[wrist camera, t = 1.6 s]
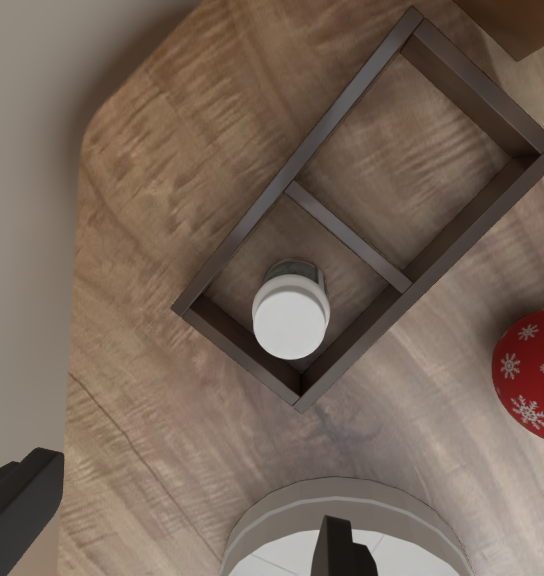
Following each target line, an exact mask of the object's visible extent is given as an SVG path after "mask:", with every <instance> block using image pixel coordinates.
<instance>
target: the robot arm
mask: <svg viewBox="0 0 544 576" xmlns="http://www.w3.org/2000/svg"><path fill="white" fill-rule="evenodd" d="M63 478H64V454H63V453H61V452H57V451H53V450H48V449H44V448H40V447H38V448H35V449H34V450H33V451H32V452H31V453H29V454H28V456H26V457H25V458H24V459H23V460H22V461H21V462H20V463H18V462H14V461H12V462H10V463H8V464H7V465H5V466H3V467H1V468H0V576H7V575H8V574H9V572H10V571H11V570H12V568H13V567H14V566H15V565H16V563H17V562H18V561H19V559H20V558H21V557H22V556H23V554H24V553H25V552H26V550H27V549H28V548H29V547H30V545H31V544H32V543H33V541H34V540H35V539H36V538H37V536H38V535H39V534H40V533H41V531H42V530H43V528H44V527H45V526H46V525H47V523H48V522H49V521H50V520H51V518H52V517H53V516H54V514H55V513H56V511H57V509H58V507H59V505H60V502H61V499H62V494H63ZM310 576H378V571H377V564H376V562H375V560H374V558H373V557H372V555H371V553H370V551H369V549H368V547H367V546H366V545H363V544H359V543H354V542H353V537H352V528H351V522H350V521H349V520H346V519H341V518H337V517H333V516H328V515H324V518H323V521H322V524H321V528H320V532H319V535H318V539H317V543H316V547H315V550H314V554H313V559H312V565H311V575H310Z"/></svg>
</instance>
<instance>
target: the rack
mask: <svg viewBox="0 0 544 576" xmlns="http://www.w3.org/2000/svg"><path fill="white" fill-rule="evenodd" d="M399 52H400V53H401V54H402V55H403V56H404V57H405V58H406V59H407V60H408V61H409V62H411V63H412V64H413V65H414V66H415V67H416V68H417V69H418V70H419V71H420V72H421V73H422V74H423V75H424V76H426V77H427V78H428V79H429V80H430V81H431V82H432V83H433V84H434V85H435V86H436V87H437V88H438V89H440V90H441V91H442V92H443V93H444V94H445V95H446V96H447V97H448V98H449V99H450V100H451V101H452V102H454V103H455V104H456V105H457V106H458V107H459V108H460V109H461V110H462V111H463V112H464V113H465V114H466V115H468V116H469V117H470V118H471V119H472V120H473V121H474V122H475V123H476V124H477V125H478V126H479V127H480V128H482V129H483V130H484V131H485V132H486V133H487V134H488V135H489V136H490V137H491V138H492V139H493V140H494V141H495V142H497V143H498V144H499V145H500V146H501V147H502V148H503V149H504V150H505V151H506V152H507V153H508V154H509V155H511V156H512V157H514V158H513V159H512V160H511V161H510V162H509V163H508V164H507V165H506V166H505V167H504V168H503V169H502V170H501V171H500V172H499V173H498V174H497V175H496V176H495V177H494V178H493V179H492V180H491V181H490V182H489V183H488V184H487V185H486V186H485V187H484V188H483V189H482V190H481V191H480V193H479V194H478V195H477V196H476V197H475V198H474V199H473V200H472V201H471V202H470V203H469V204H468V205H467V206H466V207H465V208H464V209H463V210H462V211H461V212H460V213H459V214H458V215H457V216H456V217H455V218H454V219H453V220H452V221H451V222H450V223H449V224H448V225H447V226H446V227H445V228H444V230H443V231H442V232H441V233H440V234H439V235H438V236H437V237H436V238H435V239H434V240H433V241H432V242H431V243H430V244H429V245H428V246H427V247H426V248H425V249H424V250H423V251H422V252H421V253H420V254H419V255H418V256H417V257H416V258H415V259H414V260H413V261H412V262H411V263H410V264H409V266H408V267H407V268H406V269H405V270H404V271H402V270H400V269H399V268H398V267H397V266H396V265H395V264H393V263H392V262H391V261H390V260H389V259H388V258H387V257H385V256H384V255H383V254H382V253H381V252H380V251H378V250H377V249H376V248H375V247H374V246H373V245H372V244H370V243H369V242H368V241H367V240H366V239H365V238H364V237H362V236H361V235H360V234H359V233H358V232H357V231H355V230H354V229H353V228H352V227H351V226H350V225H349V224H347V223H346V222H345V221H344V220H343V219H342V218H340V217H339V216H338V215H337V214H336V213H335V212H334V211H332V210H331V209H330V208H329V207H328V206H327V205H325V204H324V203H323V202H322V201H321V200H320V199H319V198H317V197H316V196H315V195H314V194H313V193H312V192H310V191H309V190H308V189H307V188H306V187H305V186H304V185H302V184H301V183H300V182H299V181H298V180H296V179H297V178H298V176H299V175H300V174H301V173H302V171H303V170H304V169H305V168H306V167H307V165H308V164H309V163H310V162H311V160H312V159H313V158H314V157H315V156H316V154H317V153H318V152H319V151H320V149H321V148H322V147H323V146H324V144H325V143H326V142H327V141H328V140H329V138H330V137H331V136H332V135H333V133H334V132H335V131H336V130H337V128H338V127H339V126H340V125H341V124H342V122H343V121H344V120H345V119H346V117H347V116H348V115H349V114H350V113H351V111H352V110H353V109H354V108H355V106H356V105H357V104H358V103H359V101H360V100H361V99H362V98H363V97H364V95H365V94H366V93H367V92H368V90H369V89H370V88H371V87H372V86H373V84H374V83H375V82H376V81H377V79H378V78H379V77H380V76H381V74H382V73H383V72H384V71H385V70H386V68H387V67H388V66H389V65H390V63H391V62H392V61H393V60H394V58H395V57H396V56H397V55H398V54H399ZM543 176H544V129H543V128H542V127H541V126H540V125H539V124H538V123H537V122H536V121H534V120H533V119H532V118H531V117H530V116H529V115H528V114H527V113H526V112H525V111H524V110H523V109H522V108H521V107H520V106H519V105H518V104H517V103H515V102H514V101H513V100H512V99H511V98H510V97H509V96H508V95H507V94H506V93H505V92H504V91H503V90H502V89H501V88H500V87H499V86H498V85H496V84H495V83H494V82H493V81H492V80H491V79H490V78H489V77H488V76H487V75H486V74H485V73H484V72H483V71H482V70H481V69H480V68H478V67H477V66H476V65H475V64H474V63H473V62H472V61H471V60H470V59H469V58H468V57H467V56H466V55H465V54H464V53H463V52H462V51H461V50H459V49H458V48H457V47H456V46H455V45H454V44H453V43H452V42H451V41H450V40H449V39H448V38H447V37H446V36H445V35H444V34H443V33H442V32H440V31H439V30H438V29H437V28H436V27H435V26H434V25H433V24H432V23H431V22H430V21H429V20H428V19H427V18H424V16H423V15H422V14H421V13H420V12H419V11H418V10H417V9H416V8H415V7H414V6H413V5H411V6H410V7H409V8H408V9H407V11H406V12H405V13H404V14H403V16H402V17H401V18H400V19H399V21H398V22H397V23H396V25H395V26H394V27H393V28H392V30H391V31H390V32H389V33H388V35H387V36H386V37H385V38H384V40H383V41H382V42H381V43H380V45H379V46H378V47H377V48H376V50H375V51H374V52H373V53H372V55H371V56H370V57H369V58H368V60H367V61H366V62H365V63H364V65H363V66H362V67H361V69H360V70H359V71H358V72H357V74H356V75H355V76H354V77H353V79H352V80H351V81H350V82H349V84H348V85H347V86H346V87H345V89H344V90H343V91H342V92H341V94H340V95H339V96H338V97H337V99H336V100H335V101H334V102H333V104H332V105H331V106H330V108H329V109H328V110H327V111H326V113H325V114H324V115H323V116H322V118H321V119H320V120H319V121H318V123H317V124H316V125H315V126H314V128H313V129H312V130H311V131H310V133H309V134H308V135H307V136H306V138H305V139H304V140H303V141H302V143H301V144H300V145H299V146H298V148H297V149H296V150H295V152H294V153H293V154H292V155H291V157H290V158H289V159H288V160H287V162H286V163H285V164H284V165H283V167H282V168H281V169H280V170H279V172H278V173H277V174H276V175H275V177H274V178H273V179H272V180H271V182H270V183H269V184H268V185H267V187H266V188H265V189H264V191H263V192H262V193H261V194H260V196H259V197H258V198H257V199H256V201H255V202H254V203H253V204H252V206H251V207H250V208H249V209H248V211H247V212H246V213H245V214H244V216H243V217H242V218H241V219H240V221H239V222H238V223H237V224H236V226H235V227H234V228H233V229H232V231H231V232H230V233H229V235H228V236H227V237H226V238H225V240H224V241H223V242H222V243H221V245H220V246H219V247H218V248H217V250H216V251H215V252H214V253H213V255H212V256H211V257H210V258H209V260H208V261H207V262H206V263H205V265H204V266H203V267H202V268H201V270H200V271H199V272H198V273H197V275H196V276H195V277H194V279H193V280H192V281H191V282H190V284H189V285H188V286H187V287H186V289H185V290H184V291H183V292H182V294H181V295H180V296H179V297H178V299H177V300H176V301H175V302H174V304H173V305H172V306H171V308H170V309H171V310H173V311H174V312H175V313H176V314H178V315H179V316H180V317H182V319H184V320H185V321H186V322H187V323H189V324H190V325H191V326H192V327H194V328H195V329H196V330H197V331H199V332H200V333H201V334H202V335H204V336H205V337H206V338H207V339H208V340H210V341H211V342H212V343H213V344H215V345H216V346H217V347H218V348H220V349H221V350H222V351H223V352H225V353H226V354H227V355H228V356H230V357H231V358H232V359H233V360H235V361H236V362H237V363H238V364H240V365H241V366H242V367H243V368H245V369H246V370H247V371H248V372H250V373H251V374H252V375H253V376H255V377H256V378H257V379H258V380H260V381H261V382H262V383H263V384H265V385H266V386H267V387H268V388H270V389H271V390H272V391H273V392H275V393H276V394H277V395H278V396H279V397H281V398H282V399H283V400H284V401H286V402H287V403H288V404H289V405H291V406H292V407H293V408H294V409H296V410H297V411H298V412H299V413H301V414H303V413H304V412H305V411H306V410H307V409H308V408H309V407H310V406H311V405H312V404H313V403H314V402H315V401H316V400H317V399H318V398H319V397H320V396H321V395H322V394H323V393H324V392H326V391H327V390H328V389H329V388H330V387H331V386H332V385H333V384H334V383H335V382H336V381H337V380H338V379H339V378H340V377H341V376H342V375H343V374H344V373H345V372H346V371H347V370H348V369H349V368H350V367H351V366H352V365H353V364H354V363H355V362H356V361H357V360H358V359H359V358H360V357H361V356H362V355H363V354H364V353H365V352H366V351H367V350H368V349H369V348H370V347H371V346H372V345H373V344H374V343H375V342H376V341H377V340H378V339H379V338H380V337H381V336H382V335H383V334H384V333H385V332H386V331H387V330H388V329H389V328H390V327H391V326H392V325H393V324H394V323H395V322H396V321H397V320H398V319H399V318H400V317H401V316H402V315H403V314H404V313H405V312H406V311H407V310H408V309H409V308H410V307H411V306H412V305H413V304H415V303H416V302H417V301H418V300H419V299H420V298H421V297H422V296H423V295H424V294H425V293H426V292H427V291H428V290H429V289H430V288H431V287H432V286H433V285H434V284H435V283H436V282H437V281H438V280H439V279H440V278H441V277H442V276H443V275H444V274H445V273H446V272H447V271H448V270H449V269H450V268H451V267H452V266H453V265H454V264H455V263H456V262H457V261H458V260H459V259H460V258H461V257H462V256H463V255H464V254H465V253H466V252H467V251H468V250H469V249H470V248H471V247H472V246H473V245H474V244H475V243H476V242H477V241H478V240H479V239H480V238H481V237H482V236H483V235H484V234H485V233H486V232H487V231H488V230H489V229H490V228H491V227H492V226H493V225H494V224H495V223H496V222H497V221H498V220H499V219H500V218H501V217H502V216H503V215H505V214H506V213H507V212H508V211H509V210H510V209H511V208H512V207H513V206H514V205H515V204H516V203H517V202H518V201H519V200H520V199H521V198H522V197H523V196H524V195H525V194H526V193H527V192H528V191H529V190H530V189H531V188H532V187H533V186H534V185H535V184H536V183H537V182H538V181H539V180H540V179H541V178H542V177H543ZM284 194H287V195H288V196H289V197H290V198H291V199H292V200H294V201H295V202H296V203H297V204H298V205H299V206H301V207H302V208H303V209H304V210H305V211H306V212H308V213H309V214H310V215H311V216H312V217H313V218H314V219H316V220H317V221H318V222H319V223H320V224H321V225H323V226H324V227H325V228H326V229H327V230H328V231H330V232H331V233H332V234H333V235H334V236H335V237H337V238H338V239H339V240H340V241H341V242H342V243H344V244H345V245H346V246H347V247H348V248H349V249H350V250H352V251H353V252H354V253H355V254H356V255H357V256H359V257H360V258H361V259H362V260H363V261H364V262H366V263H367V264H368V265H369V266H370V267H371V268H373V269H374V270H375V271H376V272H377V273H378V274H380V275H381V276H382V277H383V278H384V279H385V280H387V281H388V282H389V283H390V285H389V286H388V287H387V288H386V289H385V290H384V291H383V292H382V293H381V294H380V295H379V296H378V297H377V298H376V299H375V300H374V301H373V303H372V304H371V305H370V306H369V307H368V308H367V309H366V310H365V311H364V312H363V313H362V314H361V315H360V316H359V317H358V318H357V319H356V320H355V321H354V322H353V323H352V324H351V325H350V326H349V327H348V328H347V329H346V330H345V331H344V332H343V333H342V334H341V335H340V336H339V337H338V338H337V340H336V341H335V342H334V343H333V344H332V345H331V346H330V347H329V348H328V349H327V350H326V351H325V352H324V353H323V354H322V355H321V356H320V357H319V358H318V359H317V360H316V361H315V362H314V363H313V364H312V365H311V366H310V367H309V368H308V369H307V370H306V371H305V372H304V373H303V374H302V375H301V374H300V373H299V372H298V371H297V370H295V369H294V368H293V367H292V366H291V365H289V364H288V363H287V362H286V361H284V360H283V359H282V358H278V357H276V356H274V355H272V354H270V353H268V352H267V351H266V350H265V349H264V348H263V347H262V346H261V345H260V344H259V342H258V340H257V338H256V337H255V336H254V335H252V334H251V333H250V332H249V331H248V330H246V329H245V328H244V327H243V326H241V325H240V324H239V323H238V322H236V321H235V320H234V319H233V318H232V317H230V316H229V315H228V314H227V313H225V312H224V311H223V310H222V309H221V308H219V307H218V306H217V305H216V304H214V303H213V302H212V301H211V300H209V299H208V298H207V297H206V296H205V295H202V294H203V293H204V292H205V291H206V289H207V288H208V287H209V286H210V284H211V283H212V282H213V281H214V280H215V278H216V277H217V276H218V275H219V273H220V272H221V271H222V270H223V268H224V267H225V266H226V265H227V264H228V262H229V261H230V260H231V259H232V257H233V256H234V255H235V254H236V253H237V251H238V250H239V249H240V248H241V246H242V245H243V244H244V243H245V241H246V240H247V239H248V238H249V237H250V235H251V234H252V233H253V232H254V230H255V229H256V228H257V227H258V225H259V224H260V223H261V222H262V221H263V219H264V218H265V217H266V216H267V214H268V213H269V212H270V211H271V210H272V208H273V207H274V206H275V205H276V203H277V202H278V201H279V200H280V198H281V197H282V196H283V195H284Z"/></svg>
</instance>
